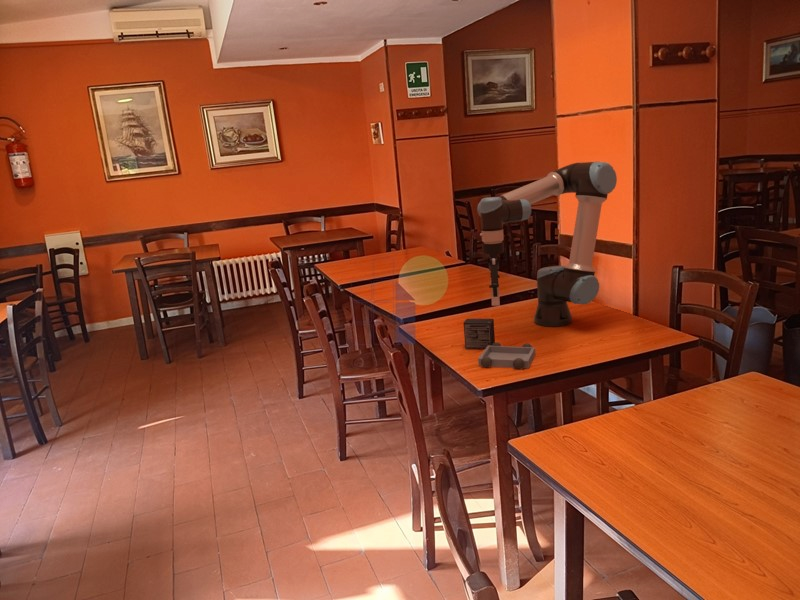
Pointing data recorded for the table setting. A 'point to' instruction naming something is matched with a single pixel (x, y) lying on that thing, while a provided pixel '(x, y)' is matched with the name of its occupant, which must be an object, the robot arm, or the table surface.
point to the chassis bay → (507, 356)
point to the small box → (479, 333)
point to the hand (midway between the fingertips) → (495, 300)
